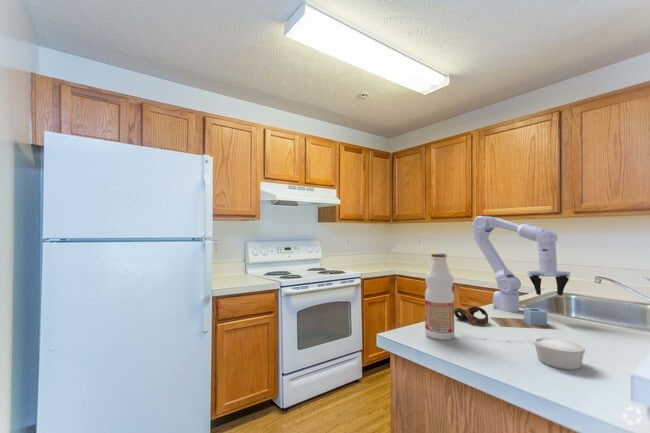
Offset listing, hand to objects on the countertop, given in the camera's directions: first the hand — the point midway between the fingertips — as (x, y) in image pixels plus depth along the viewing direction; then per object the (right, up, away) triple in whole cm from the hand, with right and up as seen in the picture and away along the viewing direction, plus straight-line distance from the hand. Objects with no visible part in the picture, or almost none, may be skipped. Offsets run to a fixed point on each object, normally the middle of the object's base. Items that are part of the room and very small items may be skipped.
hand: (549, 294), depth 127 cm
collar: (-11, -9, -9) cm, 17 cm away
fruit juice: (-50, -10, -18) cm, 54 cm away
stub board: (-16, -10, -8) cm, 21 cm away
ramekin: (-25, -9, -39) cm, 47 cm away
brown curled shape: (-34, -10, -6) cm, 36 cm away
